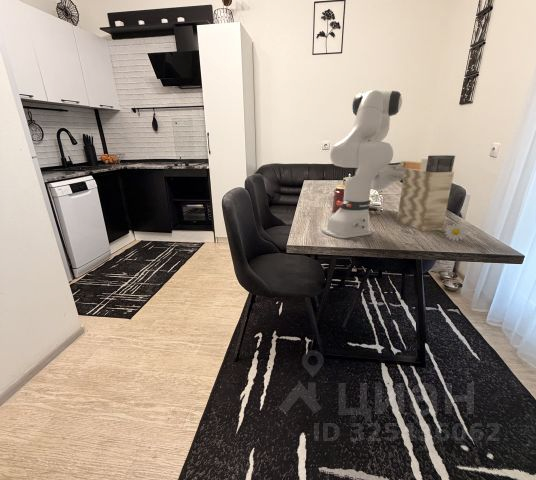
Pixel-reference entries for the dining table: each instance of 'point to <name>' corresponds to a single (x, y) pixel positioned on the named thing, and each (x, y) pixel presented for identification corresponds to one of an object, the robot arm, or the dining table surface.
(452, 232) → the decorative flower
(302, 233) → the dining table surface
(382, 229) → the dining table surface
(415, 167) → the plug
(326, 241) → the dining table surface
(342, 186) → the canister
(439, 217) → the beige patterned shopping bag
